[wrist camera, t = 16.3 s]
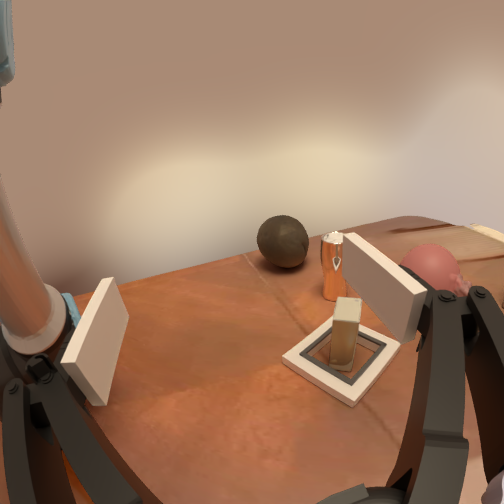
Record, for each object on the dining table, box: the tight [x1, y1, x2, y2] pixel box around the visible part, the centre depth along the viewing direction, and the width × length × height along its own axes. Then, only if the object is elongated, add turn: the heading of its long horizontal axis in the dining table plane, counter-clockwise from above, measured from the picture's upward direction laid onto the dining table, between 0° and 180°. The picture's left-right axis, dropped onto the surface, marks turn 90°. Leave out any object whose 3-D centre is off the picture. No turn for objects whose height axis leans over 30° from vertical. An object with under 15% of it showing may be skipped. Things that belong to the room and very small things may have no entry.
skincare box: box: [329, 297, 362, 372], centre depth 44 cm, size 6×4×12 cm
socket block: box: [282, 316, 401, 408], centre depth 46 cm, size 16×16×2 cm
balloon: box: [400, 244, 472, 297], centre depth 50 cm, size 15×20×15 cm
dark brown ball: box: [257, 215, 309, 268], centre depth 79 cm, size 14×14×15 cm
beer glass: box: [321, 232, 347, 301], centre depth 63 cm, size 7×7×15 cm
